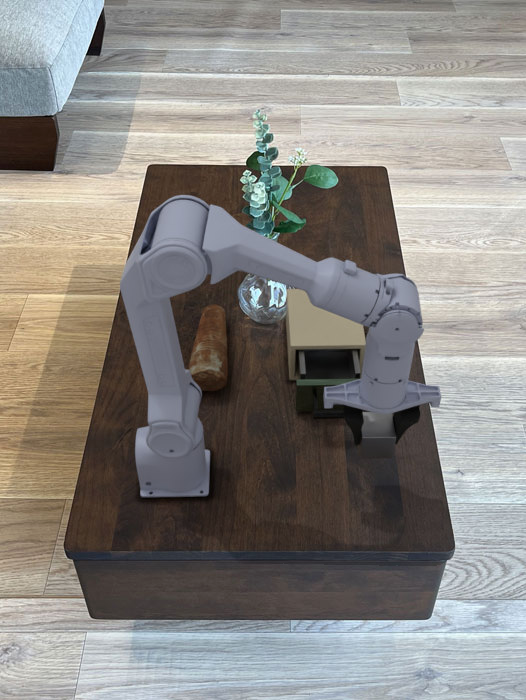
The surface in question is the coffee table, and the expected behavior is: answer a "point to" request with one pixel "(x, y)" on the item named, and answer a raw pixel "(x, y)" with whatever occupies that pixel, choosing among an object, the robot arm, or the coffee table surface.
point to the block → (377, 436)
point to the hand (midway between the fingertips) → (375, 438)
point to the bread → (210, 350)
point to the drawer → (323, 378)
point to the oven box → (318, 330)
